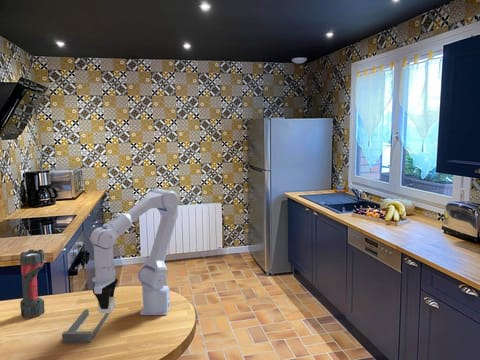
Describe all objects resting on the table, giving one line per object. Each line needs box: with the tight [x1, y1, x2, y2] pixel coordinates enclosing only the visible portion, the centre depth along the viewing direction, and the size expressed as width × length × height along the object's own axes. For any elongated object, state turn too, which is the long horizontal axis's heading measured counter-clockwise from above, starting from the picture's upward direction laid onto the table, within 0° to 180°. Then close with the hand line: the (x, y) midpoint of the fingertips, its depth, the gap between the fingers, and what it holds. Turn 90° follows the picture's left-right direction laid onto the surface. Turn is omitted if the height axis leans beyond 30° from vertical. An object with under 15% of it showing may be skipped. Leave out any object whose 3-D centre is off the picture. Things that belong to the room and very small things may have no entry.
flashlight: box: [19, 249, 46, 319], centre depth 131 cm, size 8×8×23 cm
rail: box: [61, 308, 110, 344], centre depth 123 cm, size 8×17×3 cm, turn 0°
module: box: [97, 296, 116, 314], centre depth 121 cm, size 4×4×4 cm
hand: (106, 305), depth 121 cm, fingers closed on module, 4 cm apart
